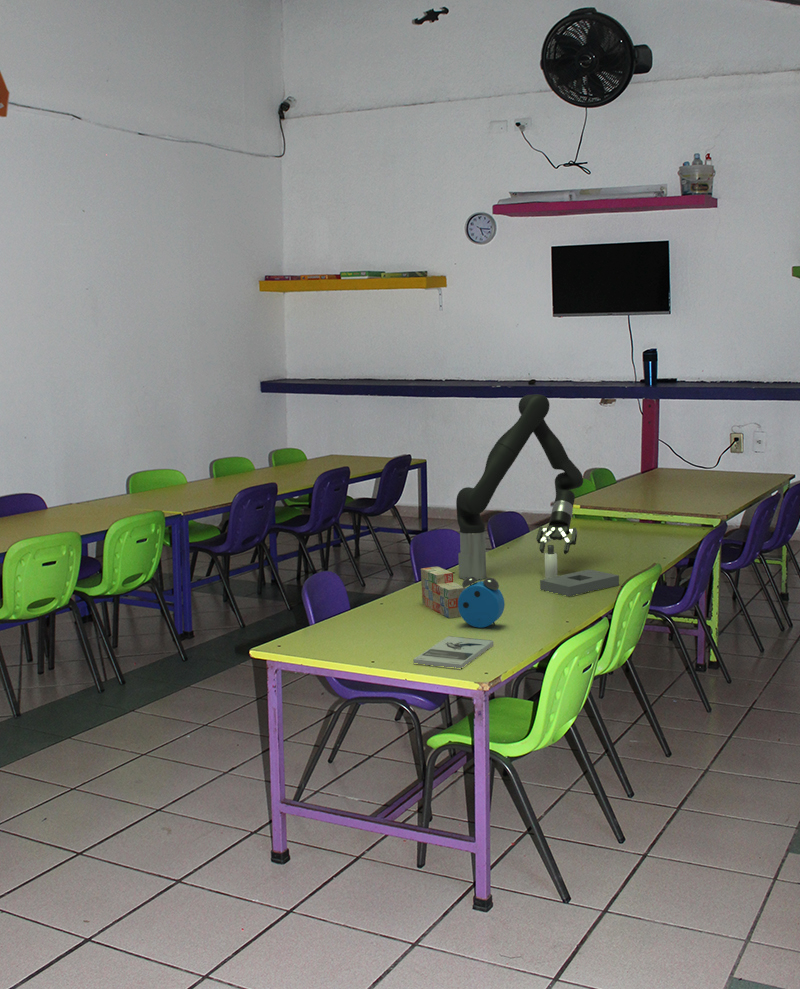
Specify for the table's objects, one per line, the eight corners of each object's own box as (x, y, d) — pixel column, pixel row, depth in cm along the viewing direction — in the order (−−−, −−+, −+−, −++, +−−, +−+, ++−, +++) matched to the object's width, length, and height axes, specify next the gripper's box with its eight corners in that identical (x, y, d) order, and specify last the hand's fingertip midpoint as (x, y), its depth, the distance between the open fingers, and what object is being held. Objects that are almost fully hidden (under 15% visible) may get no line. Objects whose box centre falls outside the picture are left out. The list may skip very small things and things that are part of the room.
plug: (551, 583, 350) (550, 547, 348) (542, 581, 354) (541, 545, 352) (560, 581, 353) (559, 545, 351) (551, 579, 356) (550, 543, 354)
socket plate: (569, 597, 329) (569, 586, 329) (540, 590, 341) (540, 580, 340) (619, 585, 343) (618, 575, 342) (589, 578, 354) (589, 569, 354)
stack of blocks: (466, 616, 311) (465, 577, 309) (448, 618, 309) (447, 580, 307) (439, 601, 331) (437, 565, 329) (421, 604, 328) (420, 567, 327)
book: (461, 671, 258) (460, 664, 258) (413, 666, 264) (413, 659, 264) (493, 647, 278) (493, 640, 278) (448, 642, 284) (448, 635, 284)
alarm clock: (505, 625, 298) (504, 576, 296) (498, 630, 293) (497, 581, 291) (465, 621, 304) (463, 574, 302) (457, 626, 299) (456, 578, 296)
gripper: (540, 509, 364) (531, 545, 355) (578, 510, 358) (570, 547, 349) (544, 521, 369) (536, 557, 360) (582, 522, 363) (574, 559, 355)
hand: (553, 552), depth 355 cm, fingers open, 8 cm apart
